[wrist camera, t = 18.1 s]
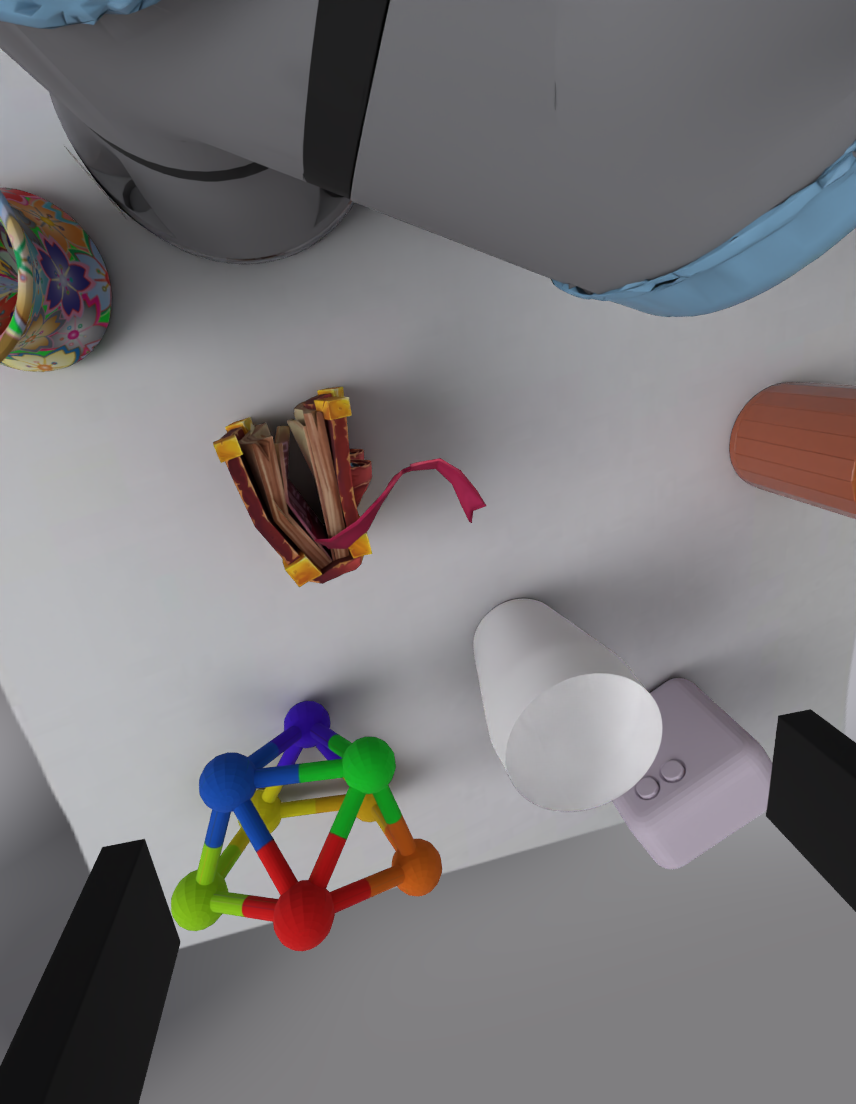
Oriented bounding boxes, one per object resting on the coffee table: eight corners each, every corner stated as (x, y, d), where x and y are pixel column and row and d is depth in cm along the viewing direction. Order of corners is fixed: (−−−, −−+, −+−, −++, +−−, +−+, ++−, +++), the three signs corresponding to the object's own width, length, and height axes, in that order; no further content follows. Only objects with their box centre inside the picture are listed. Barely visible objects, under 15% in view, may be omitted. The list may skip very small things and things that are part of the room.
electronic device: (676, 663, 44) (768, 745, 35) (702, 702, 46) (795, 791, 37) (570, 737, 45) (632, 837, 36) (599, 773, 47) (665, 878, 37)
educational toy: (372, 637, 41) (423, 776, 27) (412, 778, 45) (473, 959, 32) (148, 707, 38) (77, 901, 25) (214, 849, 43) (185, 1080, 29)
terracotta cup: (733, 388, 38) (863, 400, 29) (832, 376, 39) (990, 383, 29) (725, 494, 40) (843, 537, 31) (818, 481, 41) (960, 518, 32)
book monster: (221, 405, 33) (422, 369, 35) (261, 549, 37) (443, 510, 38) (191, 431, 24) (472, 380, 25) (249, 624, 27) (494, 567, 29)
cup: (584, 579, 41) (679, 665, 30) (569, 690, 44) (651, 807, 33) (459, 583, 39) (509, 674, 28) (452, 697, 42) (495, 821, 31)
